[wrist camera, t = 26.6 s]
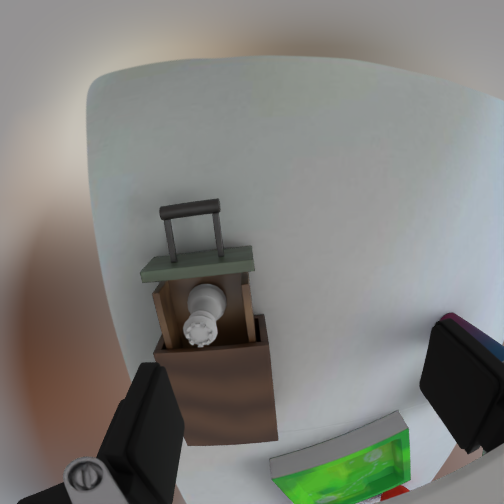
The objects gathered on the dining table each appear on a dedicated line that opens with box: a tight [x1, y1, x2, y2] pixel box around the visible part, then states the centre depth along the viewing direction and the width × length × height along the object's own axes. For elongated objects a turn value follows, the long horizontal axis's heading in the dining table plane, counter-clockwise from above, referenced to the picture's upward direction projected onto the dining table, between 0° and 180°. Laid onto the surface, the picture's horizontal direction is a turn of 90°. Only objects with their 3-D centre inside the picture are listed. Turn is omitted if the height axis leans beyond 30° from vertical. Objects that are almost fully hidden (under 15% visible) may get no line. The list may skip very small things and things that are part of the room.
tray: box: [270, 411, 411, 504], centre depth 45 cm, size 25×25×5 cm
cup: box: [439, 313, 504, 364], centre depth 32 cm, size 7×7×15 cm
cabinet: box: [153, 314, 278, 446], centre depth 36 cm, size 17×13×7 cm
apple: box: [380, 485, 409, 501], centre depth 50 cm, size 9×9×8 cm
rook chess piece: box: [183, 284, 227, 347], centre depth 30 cm, size 4×4×8 cm
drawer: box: [140, 199, 257, 349], centre depth 33 cm, size 21×11×5 cm, turn 6°
